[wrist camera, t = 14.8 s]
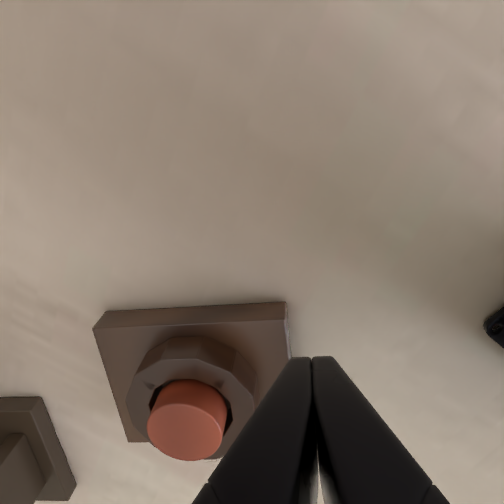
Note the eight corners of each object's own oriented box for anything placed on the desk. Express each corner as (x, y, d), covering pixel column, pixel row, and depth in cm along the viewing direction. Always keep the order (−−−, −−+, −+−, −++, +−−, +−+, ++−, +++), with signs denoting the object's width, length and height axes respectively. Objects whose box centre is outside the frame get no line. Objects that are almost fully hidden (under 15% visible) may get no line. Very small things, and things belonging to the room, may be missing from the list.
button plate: (286, 301, 21) (283, 341, 18) (297, 418, 24) (297, 470, 21) (105, 311, 23) (74, 349, 20) (138, 420, 26) (115, 469, 23)
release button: (221, 376, 20) (215, 403, 18) (232, 432, 21) (226, 461, 20) (150, 378, 20) (138, 404, 19) (165, 433, 22) (155, 461, 20)
